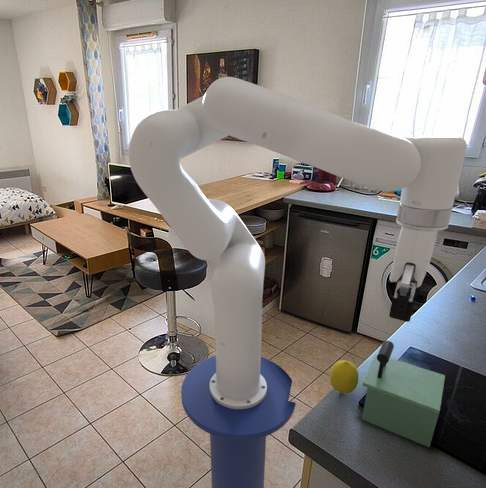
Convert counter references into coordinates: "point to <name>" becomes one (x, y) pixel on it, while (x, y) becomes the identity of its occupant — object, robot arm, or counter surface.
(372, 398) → the box
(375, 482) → the counter surface
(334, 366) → the lemon
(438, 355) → the counter surface
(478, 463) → the counter surface
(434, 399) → the lid
